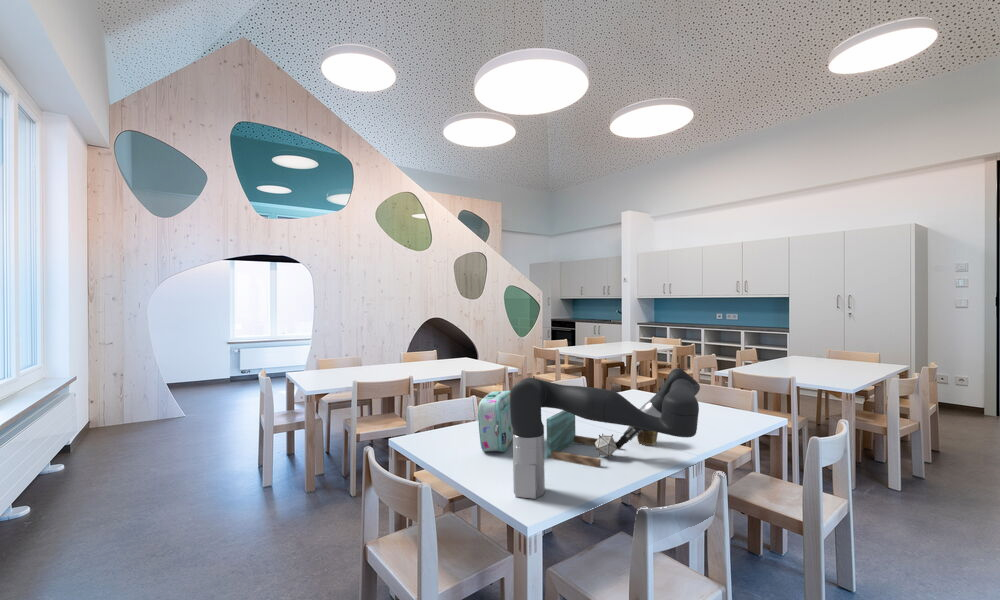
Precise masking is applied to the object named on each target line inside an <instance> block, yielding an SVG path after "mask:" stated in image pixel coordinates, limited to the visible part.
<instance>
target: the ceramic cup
mask: <svg viewBox="0 0 1000 600" xmlns="http://www.w3.org/2000/svg"><path fill="white" fill-rule="evenodd" d="M640 430H641V429H640ZM658 433H659V432H654V431H650V432H644V431H643V430H641V432H640V433H639V434H638V435H637V436H636V437H637V442H639V443H638V444H639V445H640V444H642V445H641V446H644V445H645V446H644V447H653V445H654V446H656V445H657V440H658V435H659V434H658Z"/></svg>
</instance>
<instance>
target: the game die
mask: <svg viewBox="0 0 1000 600" xmlns="http://www.w3.org/2000/svg"><path fill="white" fill-rule="evenodd" d="M596 439H597V441H596V442H595V443H594V442H592V443H593V444H595V446H594V447H595V448H596V450H597V453H598V455H597V456H598V457H600V456H603V457H604V456H605V457H607V458H608V459H610V456H611V457H613V454H614V452H615V451H616V450H617V449H619V450H620V449H621V448H617V446H616V444H615V441H616V440H615V439H614V434H613V433H612V434H611V435H605V434H604V433H602V434H601V435H600V434H598V438H596ZM598 457H597V458H598Z"/></svg>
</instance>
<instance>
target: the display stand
mask: <svg viewBox="0 0 1000 600" xmlns="http://www.w3.org/2000/svg"><path fill="white" fill-rule="evenodd" d="M597 439H598V438H594V437H588V436H582V435H576V415H574V414H572V413H569V412H567V411H564V410H561V411H560V412H558V413H556V414H553V415H552V416H550V417H547V418H546V458H547V459H550V460H551V459H552V460H557V461H562V462H569V463H573V464H578V465H584V466H588V465H589V467H595V468H601V466H602V465H601V464H602V463H601V462H602V461H601V459H602V458H598V457H593V456H592V457H591V456H588V455H587V456H586V455H581V454H577V453H570V452H564V450H566V449H567V448H569V447H570V446H572V445H573V444H574V443H575V444H580V443H581V445H586V444H587V446H592V445H594V447H596V446H595V444H593V443H592V442H594V443H595V442H596V441H597ZM614 441H615V443H616V442H617V441H616V440H614ZM565 448H566V449H565ZM562 450H563V451H562Z"/></svg>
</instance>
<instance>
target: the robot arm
mask: <svg viewBox="0 0 1000 600" xmlns="http://www.w3.org/2000/svg"><path fill="white" fill-rule="evenodd" d="M665 379H666V380H665V381H664V383H663V385H662V386H661V387H660V389H659V390H658V391H657V392H656V393H655V395H654V396H652V397H651V398H650V399H649V400H648V401H646V402H645V403H644V404H643V405H642V406H641V407H639V408H638V407H636V406H635V405H634V404H632V403H631V401H629V400H628V399H627V398H625V397H624V396H623V395H622V394H620V393H619V392H616V391H615V390H610V389H608V388H607V389H606V388H599V387H590V386H579V385H566V384H558V383H555V382H550V381H547V380H543V379H539V378H534V377H525V378H523V379H521V380H520V381H518V382H516V383H515V384H514V385H513V387H512V388H511V390H510V391H511V393H510V417H511V425H512V428H513V438H512V465H513V467H512V471H513V472H512V474H513V477H512V478H513V479H512V480H513V493H514V494H515V495H514V496H515V497H516V498H523V499H524V498H525V499H533V500H537V499H538V498H540V497H542V496H543V495H545V492H546V490H545V487H546V485H545V484H546V483H545V481H546V479H545V478H546V477H545V425H544V423H543V422H542V421H543V420H542V408H547V409H548V408H550V409H557V410H561V411H563V410H564V411H567V412H569V413H572V414H574V415H575V417H576V416H577V417H579V418H581V419H584V420H588V421H593V422H599V423H605V424H612V425H613V424H614V425H619V426H626V427H627V429H626V430H625V431H624V432H623V435H622V436H620V439H618V440H617V441H616V443H615V444H616V446H617V448H620V449H621V448H623V446H624V445H625V444H627V443H628V442H629V441H632V440H633V439H635V437H637V435H638V434H639V433H640V432H641V430H643V431H644V432H650V431H654V432H658V433H659V434H664V435H668V436H672V437H677V438H678V437H679V438H687V439H688V438H692V437H694V436H695V435H696V434H697V430H698V422H699V411H700V408H699V407H700V405H699V401H698V400H697V397H696V395H698V393H699V392H700V390H701V387H700V383H699V382H698V381H697V380H695V378H694V377H692V375H690V374H689V373H687V372H686V371H685V370H684V369H683V368H681V367H678V368H677V367H676V368H673V369H672V370H671V371H670V372H669V373H668V375H667V376H666V378H665ZM640 429H641V430H640Z"/></svg>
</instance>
